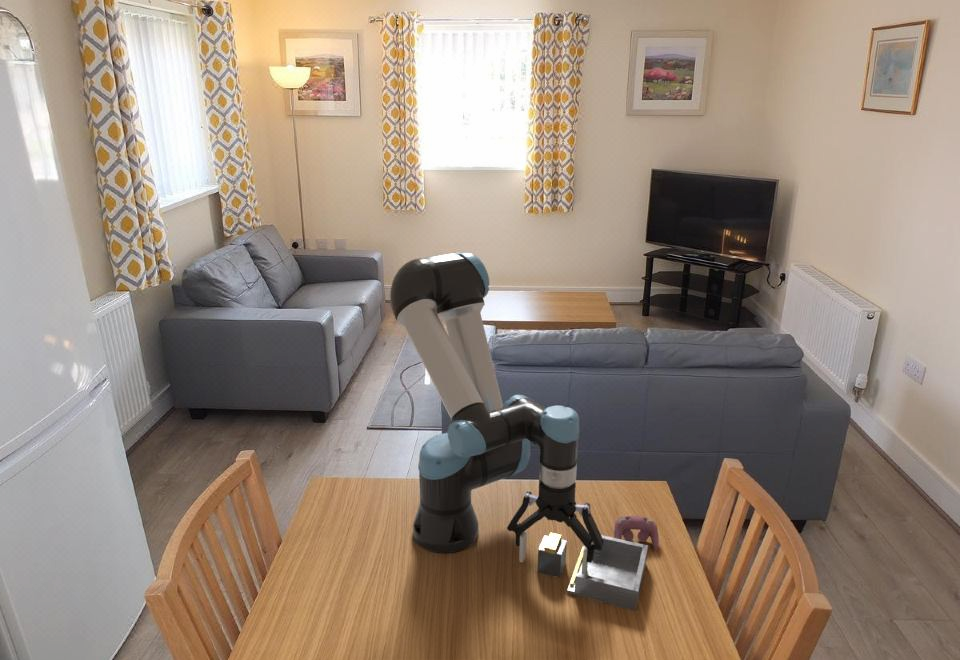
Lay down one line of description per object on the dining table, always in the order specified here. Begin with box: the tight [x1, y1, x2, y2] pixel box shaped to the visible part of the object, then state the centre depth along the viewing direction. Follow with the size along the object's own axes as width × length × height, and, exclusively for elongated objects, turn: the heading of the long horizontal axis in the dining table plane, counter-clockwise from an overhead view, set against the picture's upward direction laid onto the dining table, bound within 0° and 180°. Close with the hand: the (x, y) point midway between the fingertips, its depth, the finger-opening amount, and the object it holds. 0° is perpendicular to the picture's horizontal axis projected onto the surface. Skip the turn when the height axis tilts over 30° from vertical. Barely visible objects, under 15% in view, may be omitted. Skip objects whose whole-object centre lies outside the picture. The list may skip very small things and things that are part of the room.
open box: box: [566, 534, 649, 612], centre depth 145 cm, size 14×15×5 cm
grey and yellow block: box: [536, 532, 568, 578], centre depth 148 cm, size 5×5×7 cm
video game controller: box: [613, 515, 659, 551], centre depth 157 cm, size 10×5×7 cm, turn 84°
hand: (553, 565), depth 148 cm, fingers open, 13 cm apart
